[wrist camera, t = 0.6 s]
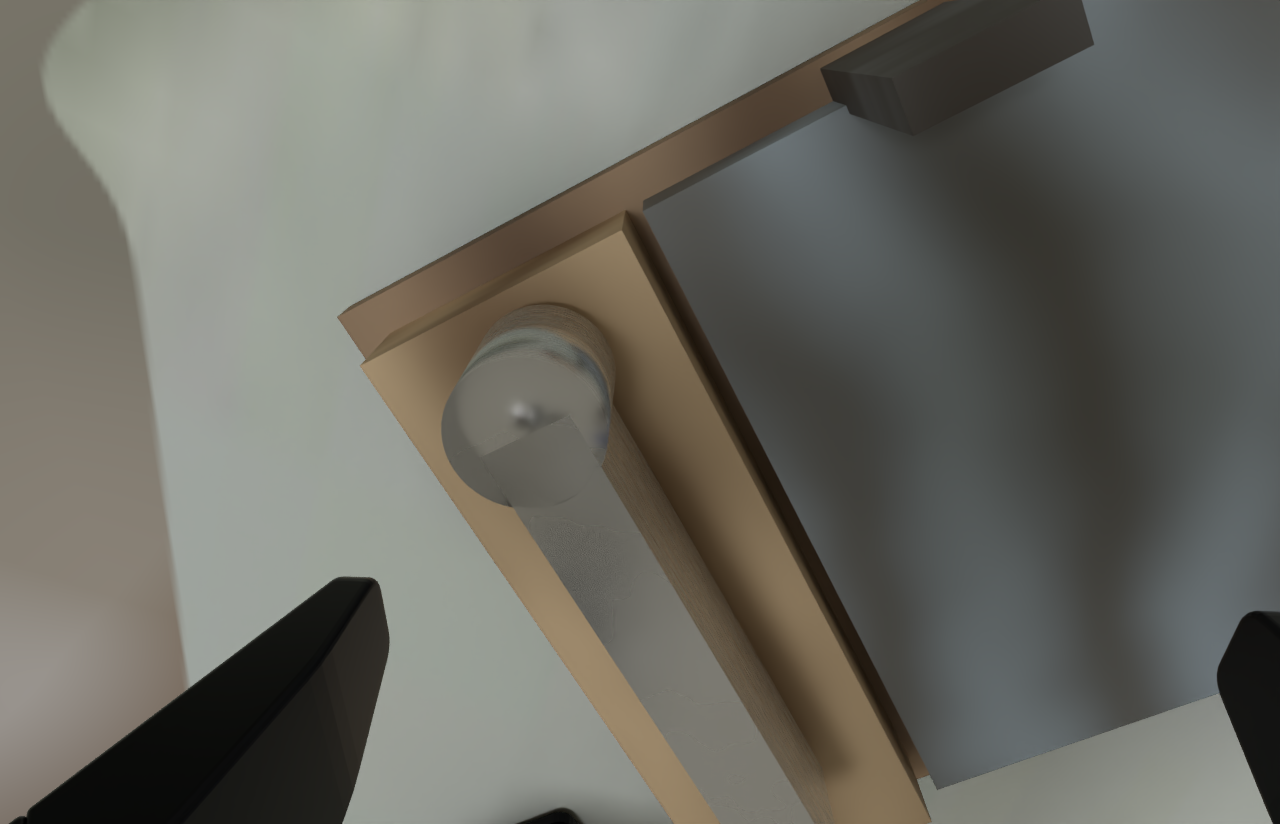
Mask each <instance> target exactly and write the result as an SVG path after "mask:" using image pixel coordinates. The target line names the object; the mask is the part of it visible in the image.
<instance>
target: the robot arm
mask: <svg viewBox="0 0 1280 824" xmlns="http://www.w3.org/2000/svg"><path fill="white" fill-rule="evenodd" d="M388 653H389V631H388V625H387V620H386V615H385V610H384V604H383V599H382V594H381V589H380V586H379V584H378V582H377V581H376V580H375V579H373V578H370V577H338V578H336V579H334V580H332V581H331V582H329V583H328V584H327V585H325V586H324V587H323V588H321V589H320V590H319V591H317V592H316V593H315V594H313V595H312V596H311V597H309V598H308V599H307V600H305V601H304V602H303V603H301V604H300V605H299V606H297V607H296V608H295V609H294V610H292V611H291V612H290V613H288V614H287V615H286V616H284V617H283V618H282V619H280V620H279V621H278V622H276V623H275V624H274V625H272V626H271V627H270V628H268V629H267V630H266V631H264V632H263V633H262V634H260V635H259V636H258V637H256V638H255V639H254V640H252V641H251V642H250V643H248V644H247V645H246V646H244V647H243V648H242V649H240V650H239V651H238V652H236V653H235V654H234V655H232V656H231V657H230V658H228V659H227V660H226V661H225V662H223V663H222V664H221V665H219V666H218V667H217V668H215V669H214V670H213V671H211V672H210V673H209V674H207V675H206V676H205V677H203V678H202V679H201V680H199V681H198V682H197V683H195V684H194V685H193V686H191V687H190V688H189V689H187V690H186V691H185V692H183V693H182V694H181V695H179V696H178V697H177V698H176V699H174V700H173V701H171V702H170V703H169V704H167V705H166V706H165V707H163V708H162V709H161V710H159V711H158V712H157V713H156V714H154V715H153V716H152V717H150V718H149V719H148V720H146V721H145V722H144V723H142V724H141V725H140V726H138V727H137V728H136V729H134V730H133V731H132V732H130V733H129V734H128V735H126V736H125V737H124V738H122V739H121V740H120V741H118V742H117V743H116V744H114V745H113V746H112V747H110V748H109V749H108V750H106V751H105V752H104V753H103V754H101V755H100V756H99V757H97V758H96V759H95V760H93V761H92V762H90V763H89V764H88V765H87V766H85V767H84V768H83V769H81V770H80V771H79V772H77V773H76V774H75V775H73V776H72V777H71V778H69V779H68V780H67V781H65V782H64V783H63V784H61V785H60V786H59V787H57V788H56V789H55V790H53V791H52V792H51V793H49V794H48V795H47V796H46V797H44V798H43V799H41V800H40V801H39V802H37V803H36V804H35V805H33V806H32V807H31V808H30V809H29V810H28V812H27V817H25V816H19V817H17V818H16V819H14V820H13V821H12V822H10V823H9V824H342V822H343V820H344V817H345V814H346V811H347V809H348V806H349V803H350V800H351V797H352V794H353V791H354V787H355V784H356V780H357V777H358V773H359V769H360V765H361V761H362V757H363V753H364V749H365V746H366V742H367V738H368V734H369V730H370V726H371V722H372V718H373V714H374V710H375V706H376V702H377V698H378V694H379V690H380V686H381V682H382V678H383V674H384V670H385V666H386V662H387V658H388ZM1217 685H1218V689H1219V693H1220V695H1221V698H1222V700H1223V703H1224V705H1225V708H1226V710H1227V713H1228V715H1229V718H1230V720H1231V723H1232V725H1233V728H1234V730H1235V732H1236V735H1237V737H1238V740H1239V742H1240V745H1241V747H1242V750H1243V752H1244V755H1245V757H1246V760H1247V762H1248V765H1249V767H1250V769H1251V772H1252V774H1253V777H1254V779H1255V782H1256V784H1257V787H1258V789H1259V792H1260V794H1261V797H1262V799H1263V802H1264V804H1265V806H1266V809H1267V811H1268V814H1269V816H1270V818H1271V820H1272V823H1273V824H1280V611H1252V612H1249V613H1247V614H1246V615H1245V616H1243V617H1242V619H1241V620H1240V622H1239V624H1238V626H1237V628H1236V630H1235V632H1234V634H1233V636H1232V638H1231V640H1230V642H1229V644H1228V646H1227V649H1226V651H1225V653H1224V655H1223V657H1222V659H1221V661H1220V663H1219V666H1218V669H1217ZM527 824H578V823H577V822H576V821H575V819H574V818H573V817H572V816H571V815H569V814H567V813H562V812H558V813H554V814H551V815H548V816H546V817H543V818H540V819H538V820H535V821H532V822H529V823H527Z"/></svg>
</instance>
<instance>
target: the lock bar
mask: <svg viewBox="0 0 1280 824" xmlns="http://www.w3.org/2000/svg"><path fill="white" fill-rule="evenodd" d="M615 378H616V367H615V361H614V357H613V354H612V350H611V348H610V346H609V344H608V342H607V340H606V339H605V337H604V336H603V334H602V333H601V332H600V331H599V329H598V328H597V327H596V326H595V325H594V324H592V323H591V322H590V321H589V320H588V319H586V318H585V317H583V316H582V315H580V314H578V313H576V312H574V311H572V310H569V309H566V308H563V307H559V306H554V305H532V306H526V307H523V308H519V309H517V310H514V311H512V312H510V313H508V314H507V315H505V316H503V317H502V318H501V319H499V320H498V321H497V322H496V323H495V324H494V325H493V326H492V327H491V328H490V329H489V331H488V332H487V334H486V335H485V337H484V338H483V340H482V342H481V343H480V345H479V347H478V349H477V350H476V352H475V354H474V355H473V357H472V359H471V360H470V362H469V364H468V365H467V367H466V369H465V371H464V372H463V374H462V376H461V377H460V379H459V381H458V382H457V384H456V386H455V387H454V389H453V391H452V393H451V394H450V396H449V398H448V400H447V402H446V405H445V408H444V411H443V415H442V421H441V436H442V443H443V447H444V450H445V453H446V456H447V458H448V460H449V462H450V464H451V466H452V468H453V469H454V471H455V472H456V473H457V475H458V476H459V477H460V478H461V479H462V480H463V481H464V483H465V484H466V485H467V486H469V487H470V488H471V489H472V490H474V491H475V492H476V493H478V494H479V495H481V496H483V497H484V498H486V499H488V500H490V501H493V502H495V503H498V504H501V505H504V506H508V507H512V508H514V510H515V511H516V513H517V515H518V516H519V518H520V519H521V521H522V522H523V524H524V525H525V527H526V528H527V530H528V531H529V533H530V534H531V536H532V537H533V539H534V540H535V542H536V543H537V545H538V547H539V548H540V550H541V551H542V553H543V554H544V556H545V557H546V559H547V560H548V562H549V563H550V565H551V566H552V568H553V569H554V571H555V572H556V574H557V575H558V577H559V578H560V580H561V582H562V583H563V585H564V586H565V588H566V589H567V591H568V592H569V594H570V595H571V597H572V598H573V600H574V601H575V603H576V604H577V606H578V607H579V609H580V610H581V612H582V613H583V615H584V617H585V618H586V620H587V621H588V623H589V624H590V626H591V627H592V629H593V630H594V632H595V633H596V635H597V636H598V638H599V639H600V641H601V642H602V644H603V645H604V647H605V649H606V650H607V652H608V653H609V655H610V656H611V658H612V659H613V661H614V662H615V664H616V665H617V667H618V668H619V670H620V671H621V673H622V674H623V676H624V677H625V679H626V680H627V682H628V684H629V685H630V687H631V688H632V690H633V691H634V693H635V694H636V696H637V697H638V699H639V700H640V702H641V703H642V705H643V706H644V708H645V709H646V711H647V712H648V714H649V715H650V717H651V719H652V720H653V722H654V723H655V725H656V726H657V728H658V729H659V731H660V732H661V734H662V735H663V737H664V738H665V740H666V741H667V743H668V744H669V746H670V747H671V749H672V751H673V752H674V754H675V755H676V757H677V758H678V760H679V761H680V763H681V764H682V766H683V767H684V769H685V770H686V772H687V773H688V775H689V776H690V778H691V779H692V781H693V782H694V784H695V786H696V787H697V789H698V790H699V792H700V793H701V795H702V796H703V798H704V799H705V801H706V802H707V804H708V805H709V807H710V808H711V810H712V811H713V813H714V814H715V816H716V817H717V819H718V821H719V822H720V824H835V823H834V818H833V814H832V810H831V805H830V801H829V797H828V792H827V788H826V784H825V779H824V775H823V771H822V767H821V765H820V764H819V762H818V760H817V758H816V757H815V755H814V753H813V751H812V750H811V748H810V746H809V744H808V743H807V741H806V739H805V737H804V736H803V734H802V732H801V730H800V729H799V727H798V725H797V723H796V722H795V720H794V718H793V717H792V715H791V713H790V711H789V710H788V708H787V706H786V704H785V703H784V701H783V699H782V697H781V696H780V694H779V692H778V690H777V689H776V687H775V685H774V683H773V682H772V680H771V678H770V676H769V675H768V673H767V671H766V669H765V668H764V666H763V664H762V662H761V661H760V659H759V657H758V655H757V654H756V652H755V650H754V648H753V647H752V645H751V643H750V642H749V640H748V638H747V636H746V635H745V633H744V631H743V629H742V628H741V626H740V624H739V622H738V621H737V619H736V617H735V615H734V614H733V612H732V610H731V608H730V607H729V605H728V603H727V601H726V600H725V598H724V596H723V594H722V593H721V591H720V589H719V587H718V586H717V584H716V582H715V580H714V579H713V577H712V575H711V573H710V572H709V570H708V568H707V566H706V565H705V563H704V561H703V560H702V558H701V556H700V554H699V553H698V551H697V549H696V547H695V546H694V544H693V542H692V540H691V539H690V537H689V535H688V533H687V532H686V530H685V528H684V526H683V525H682V523H681V521H680V519H679V518H678V516H677V514H676V512H675V511H674V509H673V507H672V505H671V504H670V502H669V500H668V498H667V497H666V495H665V493H664V491H663V490H662V488H661V486H660V485H659V483H658V481H657V479H656V478H655V476H654V474H653V472H652V471H651V469H650V467H649V465H648V464H647V462H646V460H645V458H644V457H643V455H642V453H641V451H640V450H639V448H638V446H637V444H636V443H635V441H634V439H633V437H632V436H631V434H630V432H629V430H628V429H627V427H626V425H625V423H624V422H623V420H622V418H621V416H620V415H619V413H618V411H617V409H616V408H615V406H614V404H613V395H614V387H615Z"/></svg>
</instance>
